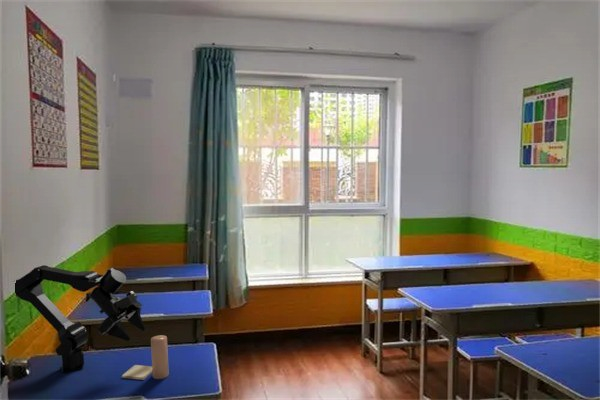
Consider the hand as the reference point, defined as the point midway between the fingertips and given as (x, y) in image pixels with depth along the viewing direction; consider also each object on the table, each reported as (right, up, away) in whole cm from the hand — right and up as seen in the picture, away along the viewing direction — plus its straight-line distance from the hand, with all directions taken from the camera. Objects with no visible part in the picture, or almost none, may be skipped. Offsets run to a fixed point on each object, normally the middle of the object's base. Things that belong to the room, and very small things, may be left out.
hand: (137, 335), depth 161 cm
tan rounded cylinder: (+8, -13, 0) cm, 16 cm away
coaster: (0, -13, +1) cm, 13 cm away
